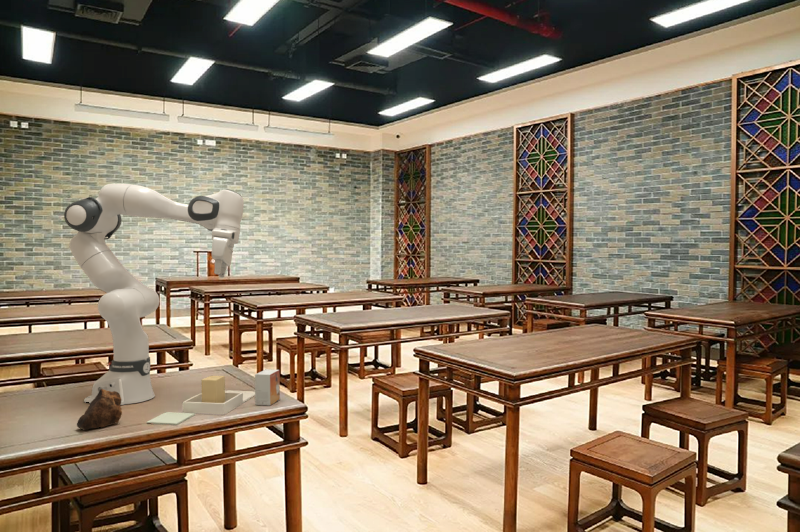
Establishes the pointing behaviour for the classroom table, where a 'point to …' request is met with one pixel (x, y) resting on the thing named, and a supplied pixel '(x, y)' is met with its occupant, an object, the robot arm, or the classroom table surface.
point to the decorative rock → (102, 411)
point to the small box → (267, 387)
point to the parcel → (213, 389)
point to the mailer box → (231, 402)
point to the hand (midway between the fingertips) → (219, 275)
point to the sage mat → (171, 418)
